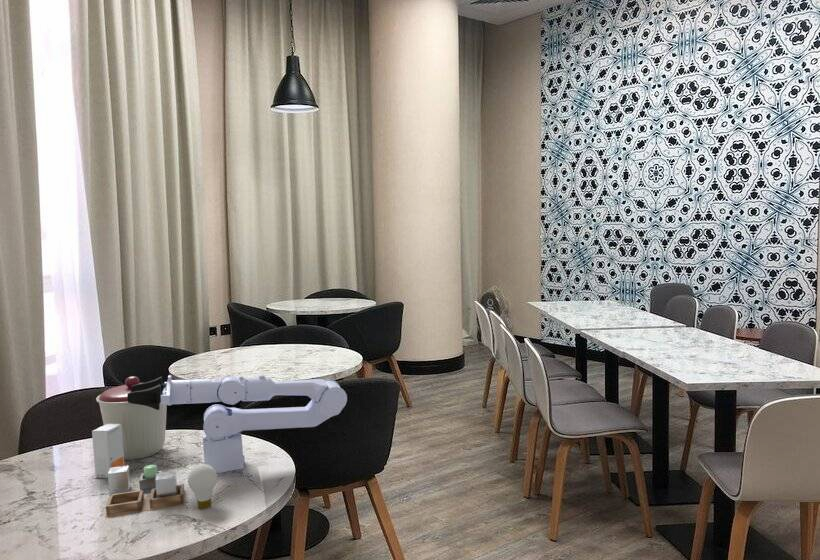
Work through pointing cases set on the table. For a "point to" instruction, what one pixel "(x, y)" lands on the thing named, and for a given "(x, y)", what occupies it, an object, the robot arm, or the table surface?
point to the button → (150, 471)
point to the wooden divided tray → (142, 501)
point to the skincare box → (107, 449)
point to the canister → (134, 421)
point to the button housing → (147, 482)
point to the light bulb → (202, 484)
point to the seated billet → (166, 484)
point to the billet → (119, 479)
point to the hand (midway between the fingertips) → (129, 394)
